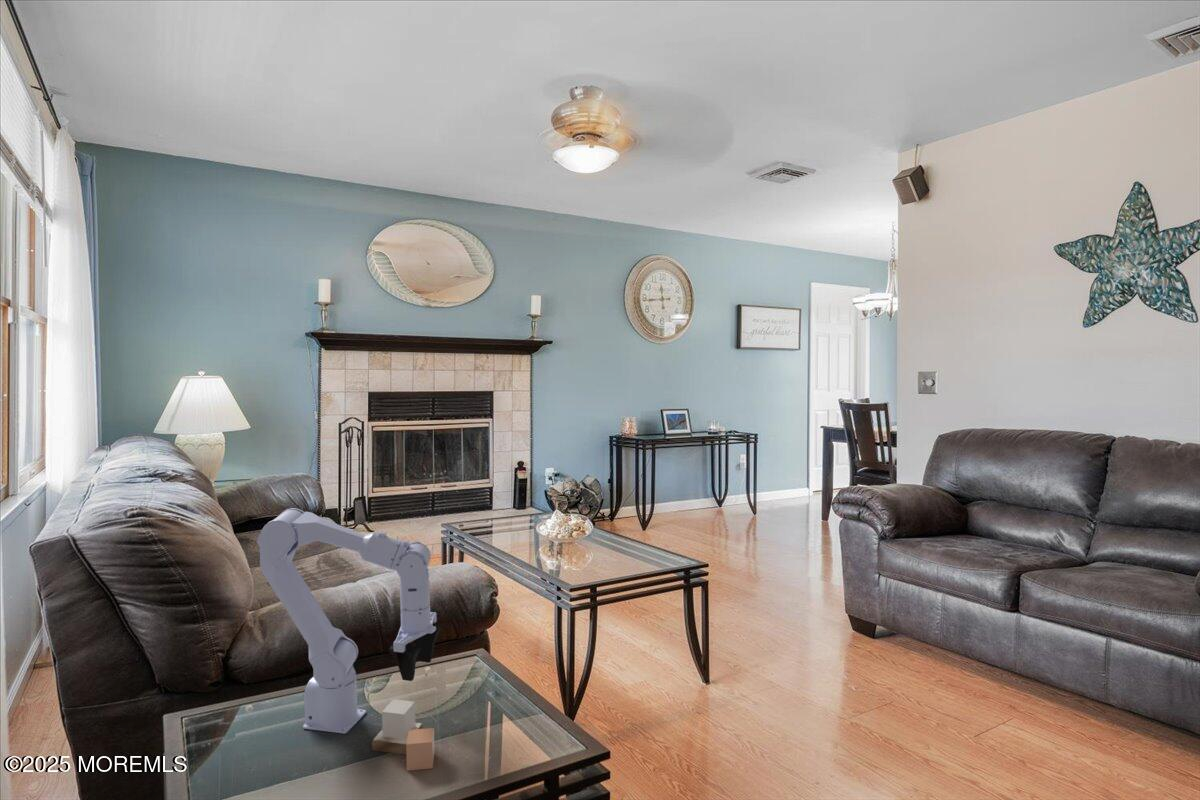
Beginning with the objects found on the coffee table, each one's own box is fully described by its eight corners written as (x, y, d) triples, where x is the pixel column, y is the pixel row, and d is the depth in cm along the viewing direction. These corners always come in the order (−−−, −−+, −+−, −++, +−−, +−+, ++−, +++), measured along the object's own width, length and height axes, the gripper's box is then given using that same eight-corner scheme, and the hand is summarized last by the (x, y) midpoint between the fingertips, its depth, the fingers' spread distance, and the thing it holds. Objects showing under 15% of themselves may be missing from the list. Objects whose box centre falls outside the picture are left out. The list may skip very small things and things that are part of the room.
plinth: (372, 752, 131) (371, 739, 131) (390, 731, 138) (389, 719, 138) (407, 756, 130) (406, 744, 130) (423, 735, 137) (423, 723, 137)
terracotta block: (406, 770, 125) (406, 744, 125) (409, 755, 130) (409, 729, 129) (432, 768, 126) (432, 742, 125) (434, 753, 130) (434, 727, 130)
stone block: (382, 736, 132) (381, 711, 131) (393, 723, 136) (393, 699, 136) (404, 739, 131) (404, 714, 131) (415, 726, 136) (414, 701, 135)
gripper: (416, 622, 132) (418, 690, 133) (449, 593, 146) (450, 655, 147) (382, 618, 133) (384, 686, 135) (418, 590, 147) (419, 652, 149)
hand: (417, 670), depth 141 cm, fingers open, 7 cm apart
